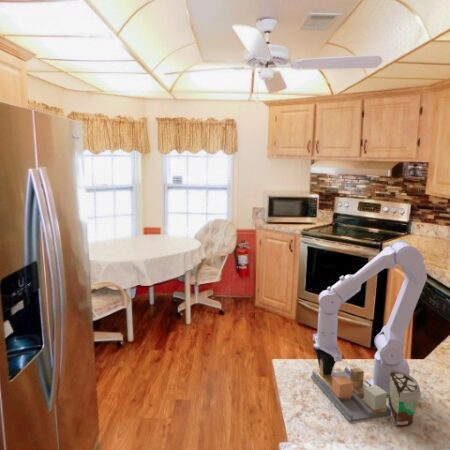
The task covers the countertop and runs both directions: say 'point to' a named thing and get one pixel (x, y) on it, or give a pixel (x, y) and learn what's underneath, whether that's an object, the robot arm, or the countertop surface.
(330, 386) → the oak strip
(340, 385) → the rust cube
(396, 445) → the countertop surface
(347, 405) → the lane board
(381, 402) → the sage block
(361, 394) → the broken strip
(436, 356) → the countertop surface
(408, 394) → the food container
